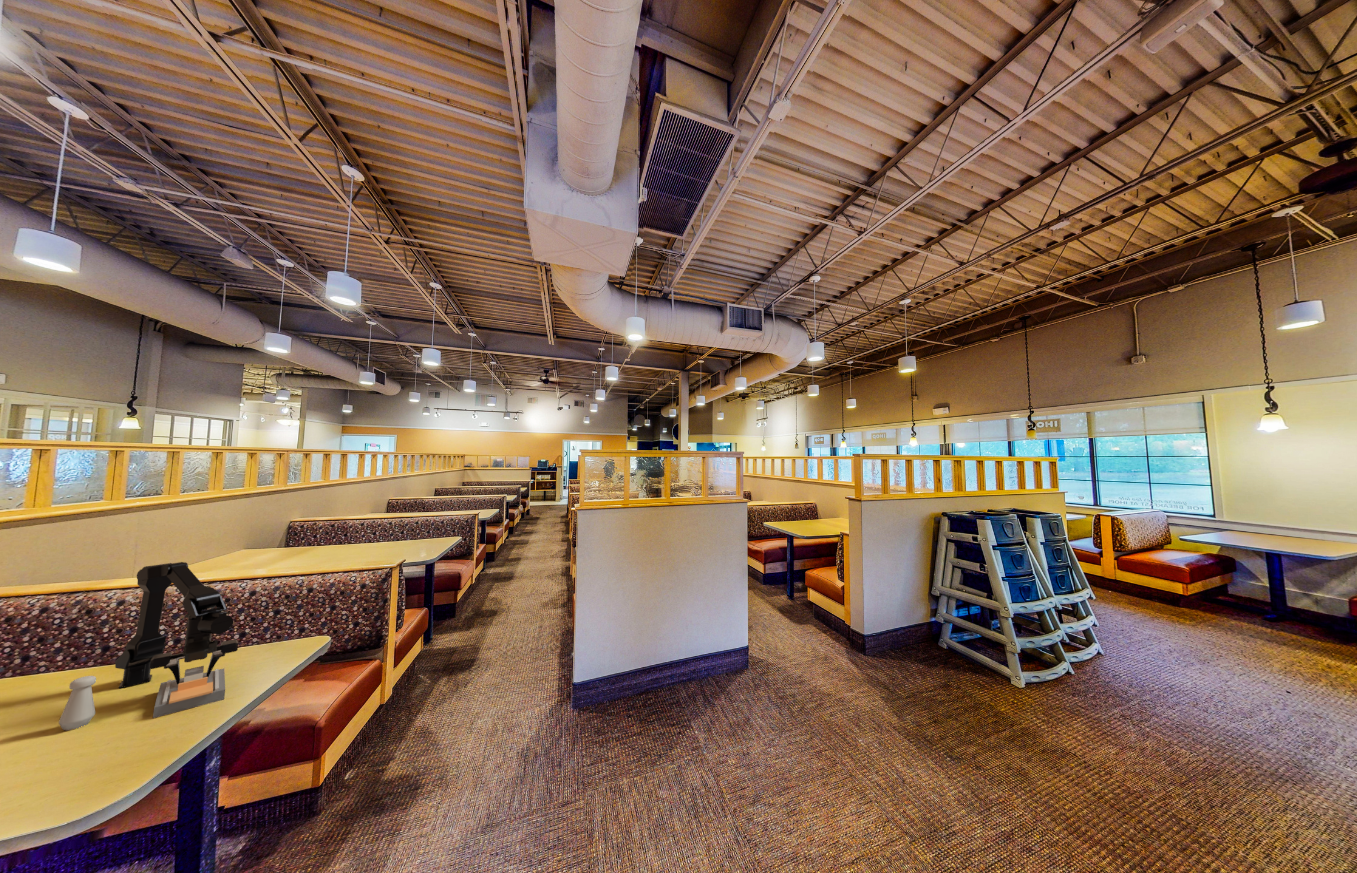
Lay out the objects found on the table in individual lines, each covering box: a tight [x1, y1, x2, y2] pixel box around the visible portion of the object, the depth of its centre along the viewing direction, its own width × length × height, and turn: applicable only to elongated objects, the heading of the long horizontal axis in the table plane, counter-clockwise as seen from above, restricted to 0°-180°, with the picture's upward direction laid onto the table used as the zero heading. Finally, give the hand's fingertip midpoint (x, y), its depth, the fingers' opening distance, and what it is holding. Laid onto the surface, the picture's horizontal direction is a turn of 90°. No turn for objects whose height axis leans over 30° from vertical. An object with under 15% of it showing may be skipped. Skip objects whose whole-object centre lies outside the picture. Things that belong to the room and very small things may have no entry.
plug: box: [183, 665, 205, 682], centre depth 134 cm, size 4×4×7 cm
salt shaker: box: [58, 675, 97, 731], centre depth 116 cm, size 6×6×13 cm
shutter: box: [169, 677, 213, 704], centre depth 127 cm, size 9×9×3 cm
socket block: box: [152, 668, 226, 719], centre depth 132 cm, size 22×14×4 cm, turn 49°
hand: (193, 680), depth 134 cm, fingers open, 6 cm apart
